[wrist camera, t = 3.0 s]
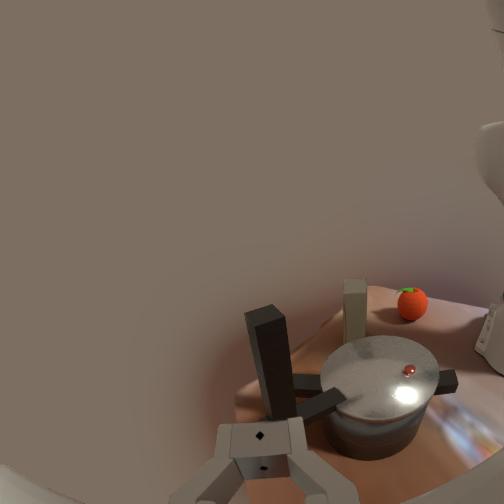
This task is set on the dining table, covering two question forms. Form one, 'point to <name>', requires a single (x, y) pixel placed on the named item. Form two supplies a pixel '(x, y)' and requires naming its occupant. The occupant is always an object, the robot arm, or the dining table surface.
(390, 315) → the dining table surface
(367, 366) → the lid
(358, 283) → the skincare box
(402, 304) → the clementine
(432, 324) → the dining table surface
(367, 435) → the pot
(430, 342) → the dining table surface
